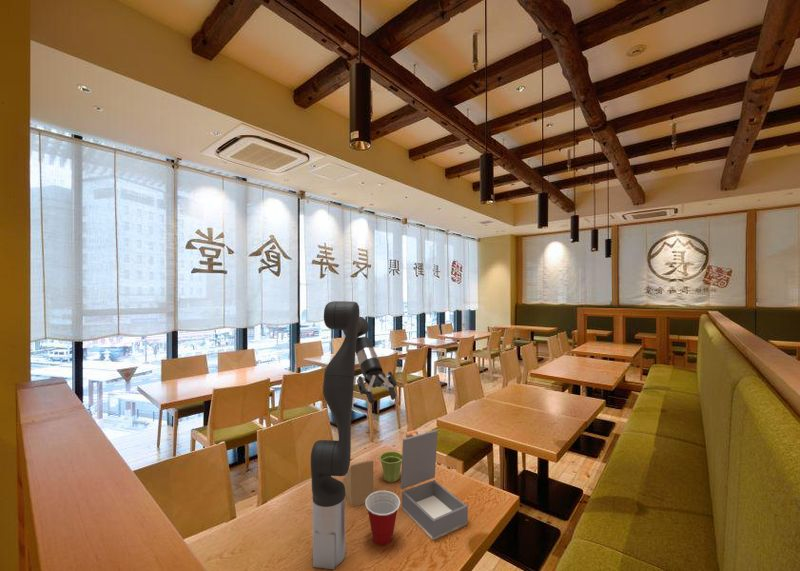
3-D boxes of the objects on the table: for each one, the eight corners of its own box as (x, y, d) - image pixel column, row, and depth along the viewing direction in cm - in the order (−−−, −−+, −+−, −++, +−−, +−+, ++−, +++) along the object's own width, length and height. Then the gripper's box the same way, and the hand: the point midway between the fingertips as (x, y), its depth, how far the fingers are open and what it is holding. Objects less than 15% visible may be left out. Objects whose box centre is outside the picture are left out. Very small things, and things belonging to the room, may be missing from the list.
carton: (467, 524, 118) (467, 506, 118) (433, 540, 111) (433, 521, 110) (434, 496, 133) (434, 480, 133) (402, 508, 126) (402, 491, 126)
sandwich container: (362, 479, 144) (362, 442, 144) (374, 501, 130) (374, 460, 130) (340, 484, 141) (340, 446, 141) (350, 507, 127) (350, 465, 127)
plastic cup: (368, 555, 105) (368, 514, 104) (362, 530, 115) (362, 493, 115) (404, 548, 107) (404, 508, 107) (395, 524, 118) (395, 488, 118)
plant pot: (402, 485, 140) (402, 463, 140) (378, 484, 141) (378, 462, 141) (403, 472, 150) (403, 451, 150) (380, 471, 150) (380, 451, 150)
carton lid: (437, 430, 131) (426, 422, 137) (404, 440, 124) (393, 430, 130) (434, 477, 133) (423, 467, 139) (401, 489, 126) (391, 478, 131)
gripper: (355, 359, 132) (369, 398, 123) (388, 354, 140) (404, 392, 130) (349, 370, 137) (362, 409, 127) (382, 365, 144) (396, 402, 135)
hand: (383, 400), depth 129 cm, fingers open, 8 cm apart
